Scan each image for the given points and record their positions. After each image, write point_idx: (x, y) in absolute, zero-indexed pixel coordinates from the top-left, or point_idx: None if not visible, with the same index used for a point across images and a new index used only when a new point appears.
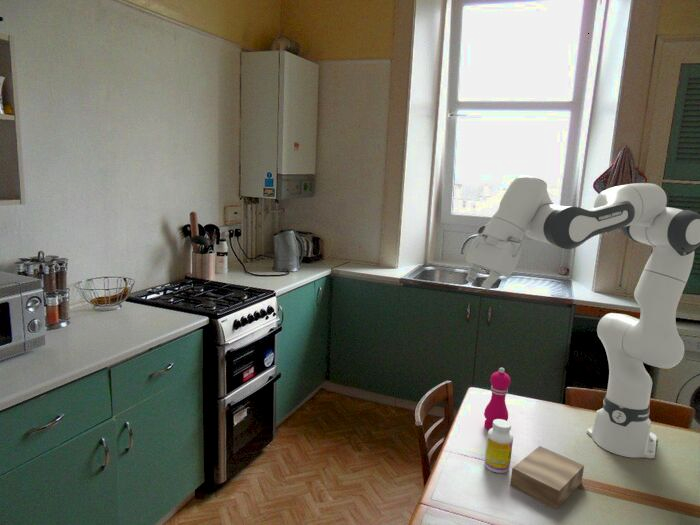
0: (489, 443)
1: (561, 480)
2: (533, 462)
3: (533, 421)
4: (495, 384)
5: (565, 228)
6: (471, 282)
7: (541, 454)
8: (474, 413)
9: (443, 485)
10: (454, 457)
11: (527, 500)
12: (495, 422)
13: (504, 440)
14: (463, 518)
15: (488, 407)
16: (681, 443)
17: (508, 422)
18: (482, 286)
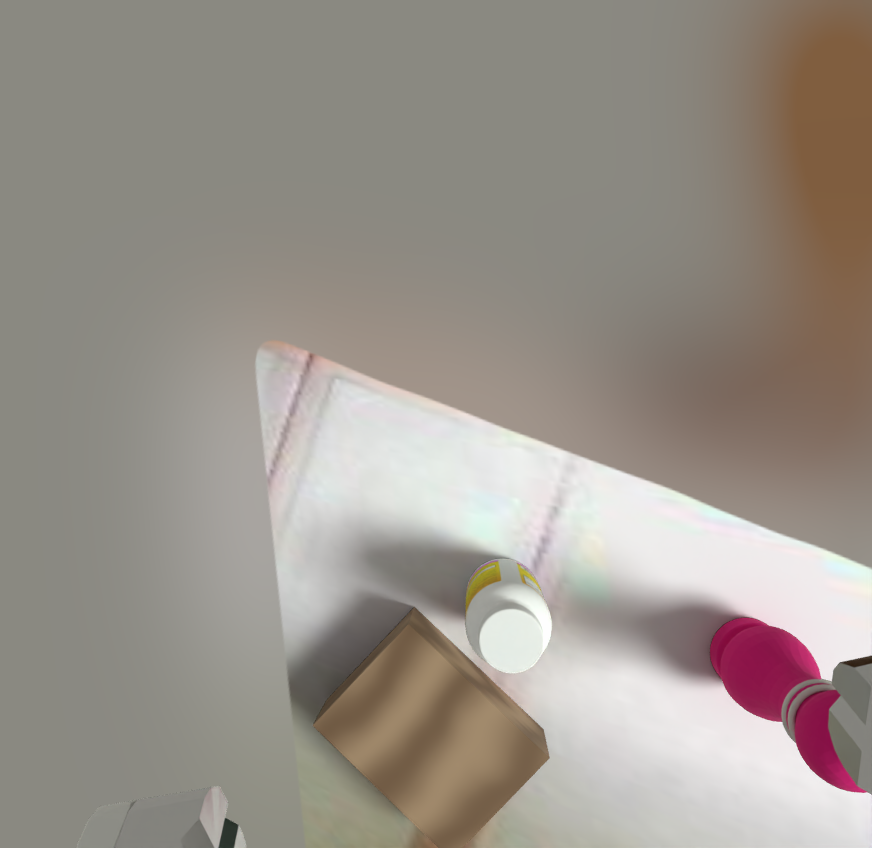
0: (491, 579)
1: (361, 752)
2: (446, 700)
3: (816, 813)
4: (808, 704)
5: None
6: (832, 719)
7: (496, 744)
8: (848, 604)
9: (394, 418)
10: (538, 474)
11: (355, 635)
12: (513, 617)
13: (467, 628)
14: (267, 448)
15: (773, 647)
16: None
17: (521, 668)
18: (160, 796)
